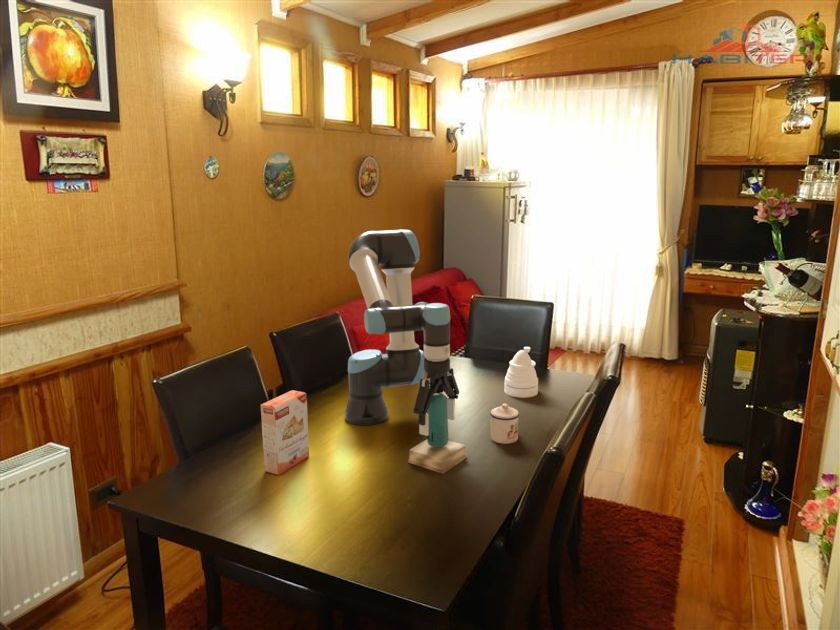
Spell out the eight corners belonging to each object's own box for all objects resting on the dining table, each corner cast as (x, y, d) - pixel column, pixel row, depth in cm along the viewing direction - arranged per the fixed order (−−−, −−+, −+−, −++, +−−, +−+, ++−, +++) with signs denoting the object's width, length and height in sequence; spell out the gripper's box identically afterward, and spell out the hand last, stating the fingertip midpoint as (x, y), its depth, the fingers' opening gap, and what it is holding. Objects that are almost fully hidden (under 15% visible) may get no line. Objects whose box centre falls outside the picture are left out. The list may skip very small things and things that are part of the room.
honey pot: (543, 389, 244) (544, 345, 240) (530, 399, 233) (531, 353, 229) (512, 383, 251) (513, 340, 246) (498, 393, 240) (499, 348, 236)
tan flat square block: (408, 462, 185) (407, 450, 184) (432, 447, 195) (432, 435, 194) (443, 474, 178) (443, 461, 177) (466, 457, 188) (466, 445, 187)
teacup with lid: (511, 446, 195) (512, 411, 192) (485, 440, 199) (485, 406, 197) (526, 432, 205) (527, 399, 202) (500, 427, 209) (501, 394, 207)
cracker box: (279, 476, 178) (275, 407, 173) (263, 472, 181) (258, 404, 176) (311, 456, 190) (307, 392, 185) (295, 452, 193) (291, 388, 188)
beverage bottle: (451, 444, 187) (451, 381, 183) (443, 454, 182) (442, 389, 177) (432, 441, 190) (431, 378, 185) (422, 450, 184) (421, 386, 179)
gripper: (422, 371, 167) (423, 444, 172) (470, 349, 187) (470, 415, 192) (400, 366, 172) (401, 438, 177) (449, 345, 191) (449, 410, 196)
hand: (437, 426), depth 184 cm, fingers open, 13 cm apart
